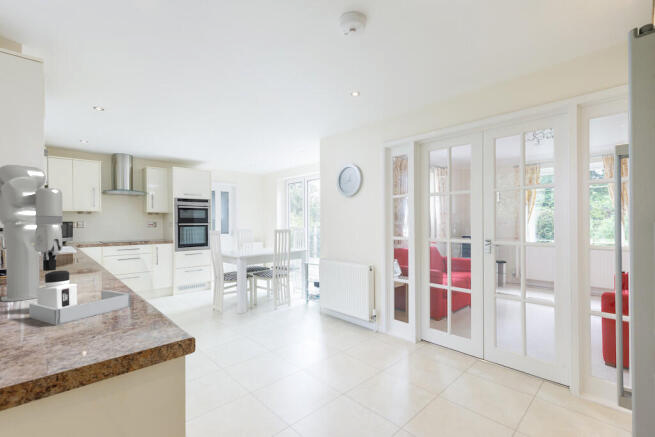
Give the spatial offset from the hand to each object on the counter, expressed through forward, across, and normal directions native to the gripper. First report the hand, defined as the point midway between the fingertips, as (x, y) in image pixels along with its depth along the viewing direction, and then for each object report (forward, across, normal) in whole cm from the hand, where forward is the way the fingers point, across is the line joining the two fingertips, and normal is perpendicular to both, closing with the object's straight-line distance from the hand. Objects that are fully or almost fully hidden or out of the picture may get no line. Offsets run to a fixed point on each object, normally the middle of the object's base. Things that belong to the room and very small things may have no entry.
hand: (49, 270), depth 115 cm
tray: (+13, +23, 0) cm, 26 cm away
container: (+13, +10, -2) cm, 16 cm away
